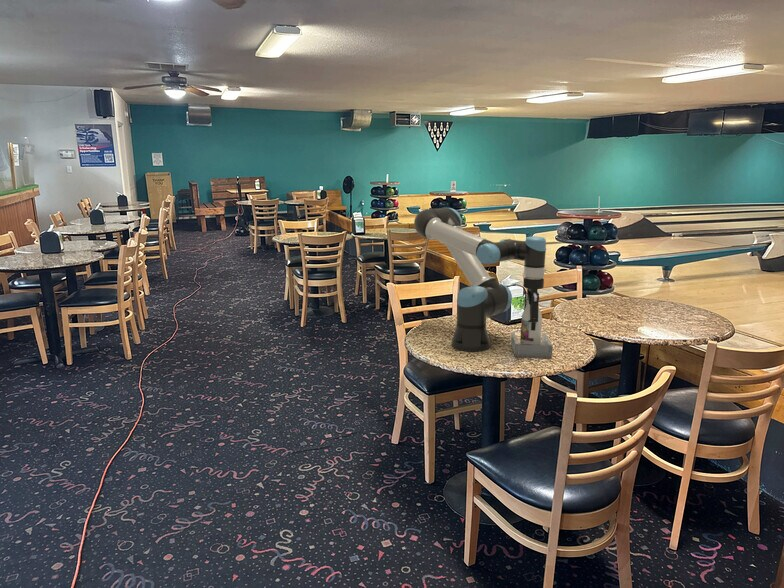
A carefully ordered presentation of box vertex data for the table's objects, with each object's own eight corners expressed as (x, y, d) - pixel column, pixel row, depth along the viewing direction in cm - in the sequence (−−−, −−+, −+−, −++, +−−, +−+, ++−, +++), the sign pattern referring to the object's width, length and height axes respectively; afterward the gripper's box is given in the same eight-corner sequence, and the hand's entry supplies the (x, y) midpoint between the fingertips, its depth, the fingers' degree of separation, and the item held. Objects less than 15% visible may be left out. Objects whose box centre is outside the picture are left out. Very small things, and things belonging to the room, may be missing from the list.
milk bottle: (533, 341, 211) (536, 292, 206) (544, 347, 204) (547, 297, 199) (516, 343, 208) (518, 294, 204) (527, 349, 201) (530, 298, 197)
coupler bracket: (515, 357, 198) (516, 344, 197) (510, 343, 213) (511, 332, 212) (551, 358, 196) (552, 345, 195) (544, 344, 212) (545, 332, 211)
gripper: (548, 283, 189) (544, 343, 195) (539, 272, 209) (536, 327, 215) (527, 282, 190) (524, 342, 195) (520, 272, 210) (517, 326, 215)
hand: (530, 334), depth 205 cm, fingers open, 8 cm apart
